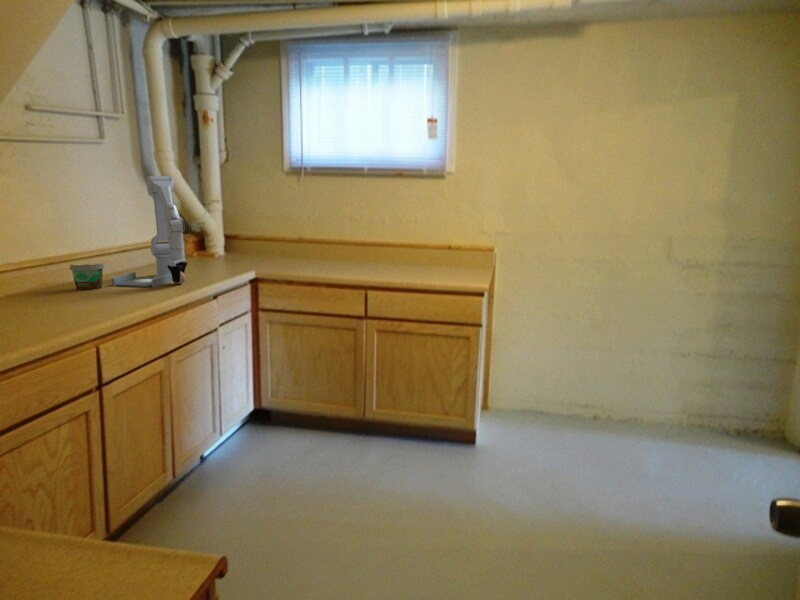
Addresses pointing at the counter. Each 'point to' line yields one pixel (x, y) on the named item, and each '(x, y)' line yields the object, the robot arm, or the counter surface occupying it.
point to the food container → (87, 276)
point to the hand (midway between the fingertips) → (178, 280)
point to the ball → (182, 278)
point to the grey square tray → (132, 275)
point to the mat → (138, 282)
